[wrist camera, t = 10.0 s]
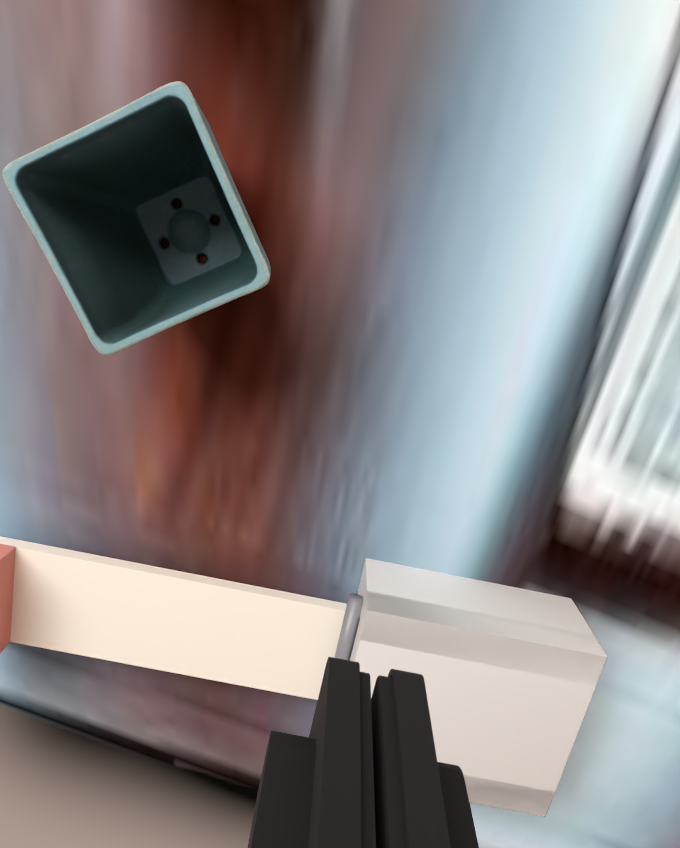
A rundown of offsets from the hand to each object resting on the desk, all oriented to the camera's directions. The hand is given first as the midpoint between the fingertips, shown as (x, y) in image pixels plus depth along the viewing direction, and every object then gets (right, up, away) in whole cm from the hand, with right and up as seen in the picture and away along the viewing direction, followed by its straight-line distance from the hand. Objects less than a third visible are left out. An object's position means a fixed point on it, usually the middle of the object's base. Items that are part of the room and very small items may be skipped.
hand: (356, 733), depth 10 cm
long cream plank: (-11, -7, +29) cm, 32 cm away
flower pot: (-9, +16, +24) cm, 30 cm away
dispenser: (+7, -11, +31) cm, 34 cm away
